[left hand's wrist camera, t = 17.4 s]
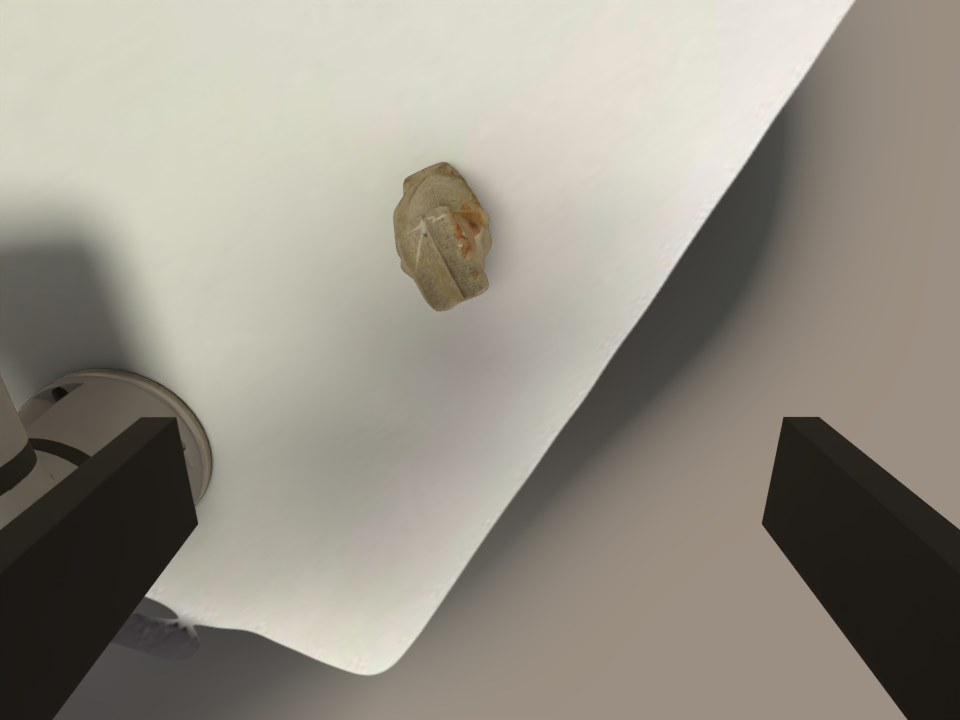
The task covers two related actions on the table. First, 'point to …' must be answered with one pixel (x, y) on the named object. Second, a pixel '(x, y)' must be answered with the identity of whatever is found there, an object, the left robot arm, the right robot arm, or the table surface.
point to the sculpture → (442, 236)
